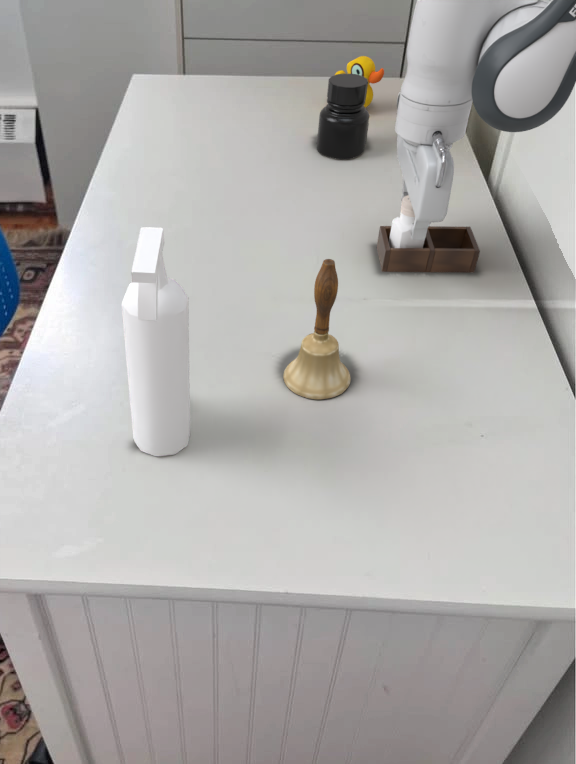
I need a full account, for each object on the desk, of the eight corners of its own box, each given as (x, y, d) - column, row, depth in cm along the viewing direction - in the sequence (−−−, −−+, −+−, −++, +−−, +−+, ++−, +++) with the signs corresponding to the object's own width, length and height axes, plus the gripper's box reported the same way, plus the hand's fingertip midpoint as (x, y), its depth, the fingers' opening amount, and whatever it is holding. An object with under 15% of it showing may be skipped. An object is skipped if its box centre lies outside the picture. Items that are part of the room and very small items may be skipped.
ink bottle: (374, 146, 134) (384, 77, 125) (355, 165, 129) (364, 93, 120) (326, 136, 137) (333, 67, 129) (306, 153, 132) (311, 83, 124)
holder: (462, 254, 108) (470, 226, 105) (472, 280, 103) (480, 251, 100) (375, 254, 109) (380, 225, 105) (380, 279, 104) (385, 250, 100)
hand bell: (269, 374, 90) (275, 259, 78) (319, 349, 93) (332, 235, 81) (313, 409, 85) (327, 293, 73) (364, 382, 88) (385, 266, 77)
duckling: (384, 114, 144) (393, 59, 137) (369, 122, 142) (376, 66, 134) (339, 99, 150) (345, 46, 142) (323, 107, 147) (328, 52, 140)
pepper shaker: (420, 267, 104) (434, 204, 97) (394, 270, 104) (406, 208, 97) (409, 253, 107) (422, 191, 100) (384, 256, 106) (395, 194, 99)
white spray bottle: (199, 398, 87) (191, 199, 68) (188, 470, 79) (176, 268, 60) (144, 395, 87) (122, 197, 69) (127, 467, 79) (97, 265, 61)
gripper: (474, 152, 83) (448, 259, 93) (443, 87, 97) (423, 187, 107) (419, 152, 84) (399, 259, 94) (396, 88, 97) (381, 187, 108)
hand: (412, 220), depth 101 cm, fingers open, 8 cm apart
